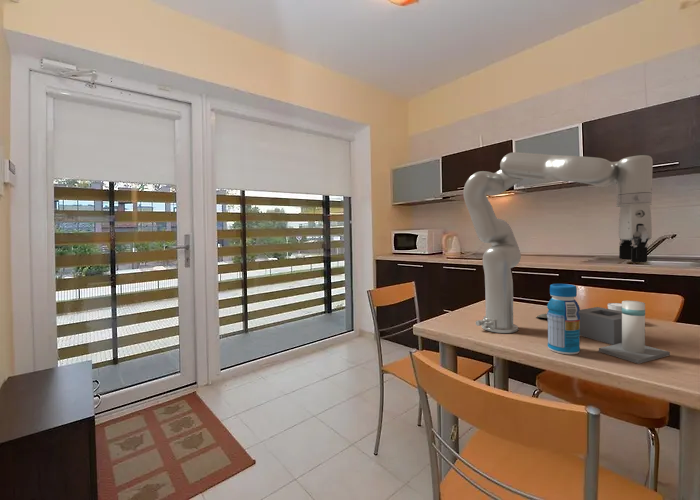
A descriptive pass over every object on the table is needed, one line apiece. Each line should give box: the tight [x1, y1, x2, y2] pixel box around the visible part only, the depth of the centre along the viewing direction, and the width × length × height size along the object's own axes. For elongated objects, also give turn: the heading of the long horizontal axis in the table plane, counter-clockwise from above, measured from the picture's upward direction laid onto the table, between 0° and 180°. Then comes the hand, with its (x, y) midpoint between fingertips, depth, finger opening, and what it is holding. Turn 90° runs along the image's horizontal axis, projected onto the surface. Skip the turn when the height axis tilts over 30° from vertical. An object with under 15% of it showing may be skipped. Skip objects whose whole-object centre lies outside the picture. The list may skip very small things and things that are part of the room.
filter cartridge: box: [621, 300, 646, 353], centre depth 92 cm, size 5×5×14 cm
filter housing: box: [578, 306, 622, 345], centre depth 108 cm, size 13×13×8 cm
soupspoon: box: [535, 313, 548, 319], centre depth 124 cm, size 22×3×7 cm
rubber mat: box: [598, 343, 671, 364], centre depth 93 cm, size 14×10×1 cm
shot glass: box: [607, 302, 622, 311], centre depth 122 cm, size 7×7×7 cm
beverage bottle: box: [546, 283, 581, 355], centre depth 97 cm, size 8×8×20 cm
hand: (632, 260), depth 92 cm, fingers open, 9 cm apart
